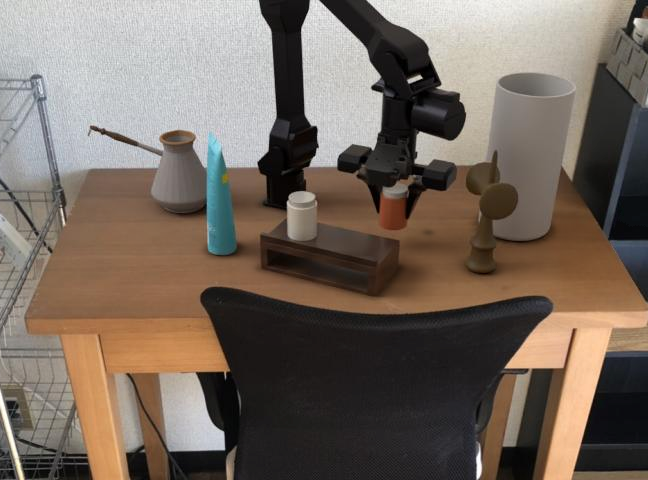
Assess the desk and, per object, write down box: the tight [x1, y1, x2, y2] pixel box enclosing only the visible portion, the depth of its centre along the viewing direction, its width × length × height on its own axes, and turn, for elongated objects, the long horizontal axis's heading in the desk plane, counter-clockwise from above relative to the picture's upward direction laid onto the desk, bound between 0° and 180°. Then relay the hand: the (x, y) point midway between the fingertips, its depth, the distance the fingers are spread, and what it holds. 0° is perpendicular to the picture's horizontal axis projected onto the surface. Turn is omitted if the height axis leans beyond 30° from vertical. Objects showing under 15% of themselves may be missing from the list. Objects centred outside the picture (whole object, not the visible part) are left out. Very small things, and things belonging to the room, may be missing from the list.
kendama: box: [464, 150, 518, 274], centre depth 132 cm, size 6×10×20 cm, turn 8°
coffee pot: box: [87, 124, 207, 214], centre depth 152 cm, size 21×12×15 cm, turn 91°
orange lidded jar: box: [378, 182, 409, 231], centre depth 140 cm, size 5×5×6 cm
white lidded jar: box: [286, 191, 318, 241], centre depth 135 cm, size 5×5×6 cm
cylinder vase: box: [478, 71, 577, 242], centre depth 143 cm, size 12×12×25 cm
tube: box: [206, 130, 238, 256], centre depth 137 cm, size 7×5×19 cm, turn 26°
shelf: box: [259, 217, 401, 297], centre depth 136 cm, size 20×10×6 cm, turn 64°
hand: (393, 215), depth 141 cm, fingers closed on orange lidded jar, 5 cm apart
